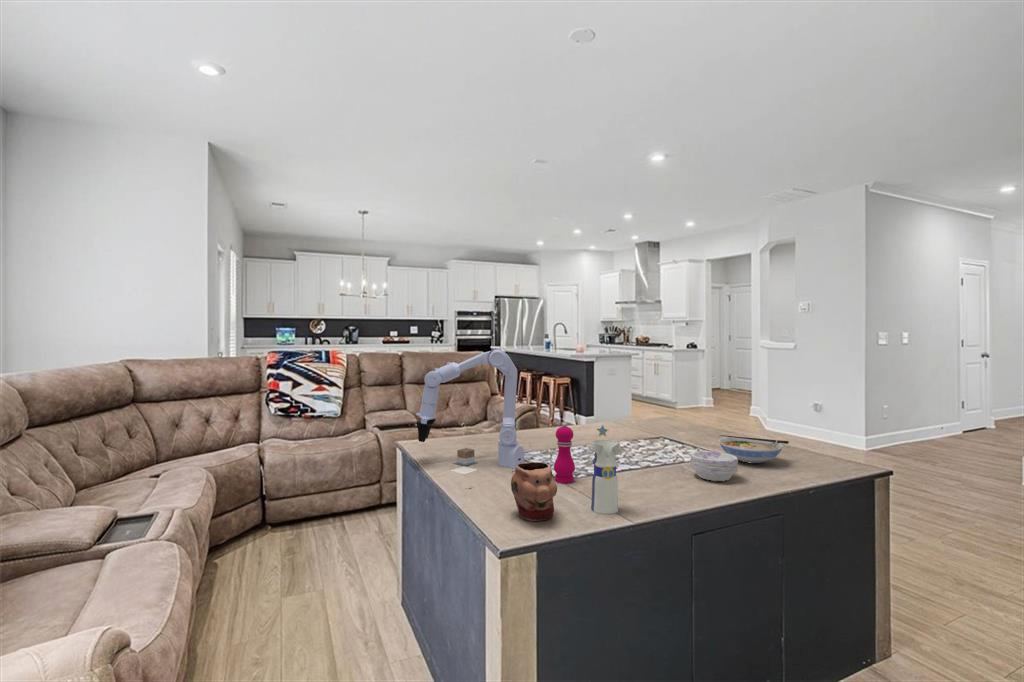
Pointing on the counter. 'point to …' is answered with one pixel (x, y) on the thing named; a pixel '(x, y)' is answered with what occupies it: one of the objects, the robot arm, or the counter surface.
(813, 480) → the counter surface
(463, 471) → the stand
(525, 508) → the decorative planter
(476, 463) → the stand
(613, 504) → the white figurine with star
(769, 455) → the ramen bowl
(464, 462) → the block
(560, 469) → the pepper mill
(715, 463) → the paper bowls
